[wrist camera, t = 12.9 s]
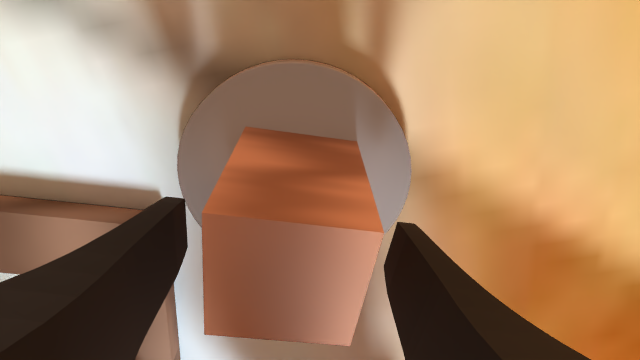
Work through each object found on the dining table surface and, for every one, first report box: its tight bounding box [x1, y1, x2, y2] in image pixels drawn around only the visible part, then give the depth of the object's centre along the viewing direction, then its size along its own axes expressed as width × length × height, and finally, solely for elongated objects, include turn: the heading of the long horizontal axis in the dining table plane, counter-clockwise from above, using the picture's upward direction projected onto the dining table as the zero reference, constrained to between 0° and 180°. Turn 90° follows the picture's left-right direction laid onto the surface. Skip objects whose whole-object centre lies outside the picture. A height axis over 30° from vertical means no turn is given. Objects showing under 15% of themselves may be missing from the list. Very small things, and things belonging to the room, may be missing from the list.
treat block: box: [202, 127, 384, 346], centre depth 12 cm, size 4×4×6 cm
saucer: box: [177, 59, 411, 234], centre depth 15 cm, size 10×10×1 cm
